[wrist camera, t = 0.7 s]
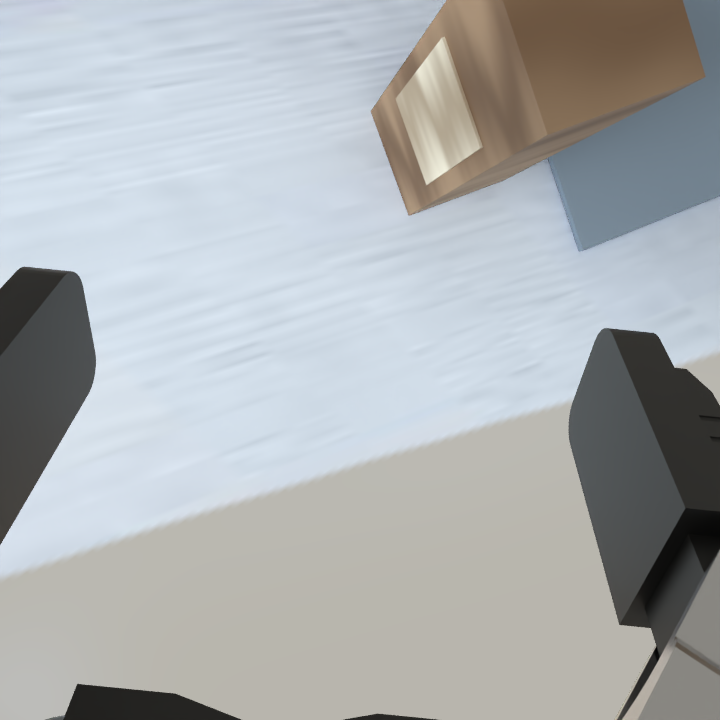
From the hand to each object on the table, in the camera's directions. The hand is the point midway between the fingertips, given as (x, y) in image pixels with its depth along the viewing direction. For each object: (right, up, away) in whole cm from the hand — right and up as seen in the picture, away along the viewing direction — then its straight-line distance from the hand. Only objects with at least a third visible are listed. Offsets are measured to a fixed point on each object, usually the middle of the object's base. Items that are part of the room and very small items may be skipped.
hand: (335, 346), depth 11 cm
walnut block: (+4, +10, +21) cm, 24 cm away
